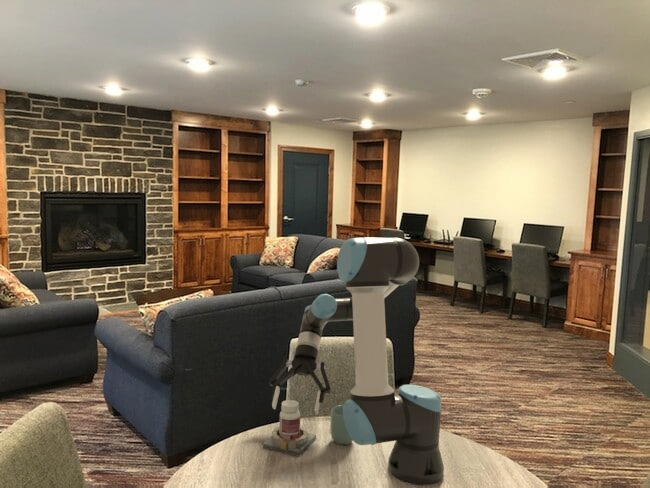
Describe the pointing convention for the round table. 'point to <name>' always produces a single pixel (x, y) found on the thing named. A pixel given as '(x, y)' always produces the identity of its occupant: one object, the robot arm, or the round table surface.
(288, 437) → the pill bottle
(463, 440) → the round table surface
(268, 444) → the hub plate
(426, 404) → the robot arm
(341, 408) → the cup
